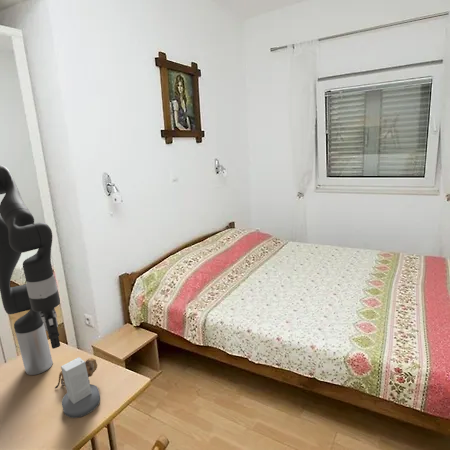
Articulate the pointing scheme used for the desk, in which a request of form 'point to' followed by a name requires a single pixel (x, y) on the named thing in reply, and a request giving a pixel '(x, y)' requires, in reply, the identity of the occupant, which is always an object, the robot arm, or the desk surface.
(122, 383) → the desk surface
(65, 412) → the grey rounded flat disc
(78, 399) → the skincare box
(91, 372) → the lion figurine
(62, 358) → the desk surface
